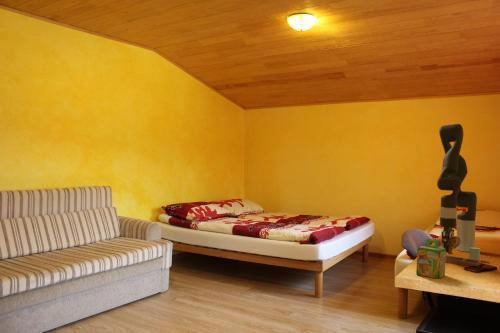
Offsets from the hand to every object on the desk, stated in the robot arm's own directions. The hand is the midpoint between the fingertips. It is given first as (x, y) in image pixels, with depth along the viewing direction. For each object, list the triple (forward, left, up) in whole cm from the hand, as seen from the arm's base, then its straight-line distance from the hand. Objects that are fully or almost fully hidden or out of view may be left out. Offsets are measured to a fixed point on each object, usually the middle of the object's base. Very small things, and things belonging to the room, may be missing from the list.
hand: (447, 251), depth 208 cm
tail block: (-12, +10, -5) cm, 16 cm away
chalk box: (+39, +4, -5) cm, 39 cm away
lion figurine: (-1, -1, -1) cm, 2 cm away
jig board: (0, +3, -4) cm, 5 cm away
